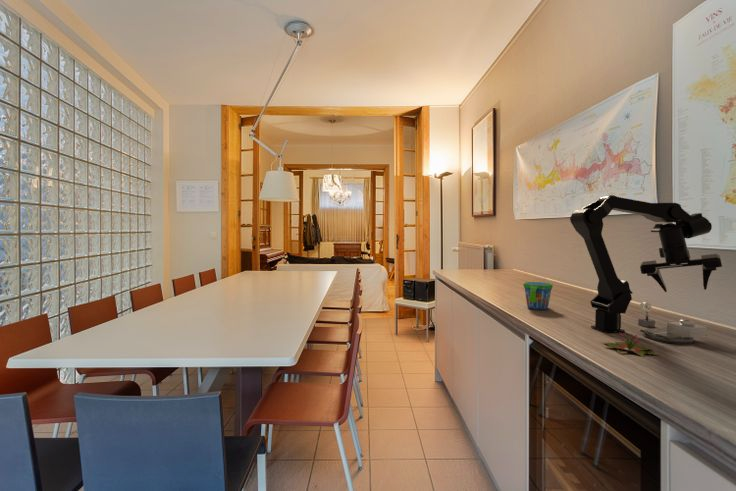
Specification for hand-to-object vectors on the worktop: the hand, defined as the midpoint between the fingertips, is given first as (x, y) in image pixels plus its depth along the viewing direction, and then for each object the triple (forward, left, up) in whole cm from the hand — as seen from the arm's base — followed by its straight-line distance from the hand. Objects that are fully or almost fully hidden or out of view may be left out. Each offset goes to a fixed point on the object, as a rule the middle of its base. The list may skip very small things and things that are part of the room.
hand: (685, 290), depth 108 cm
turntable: (-15, -6, -12) cm, 20 cm away
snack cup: (-23, +37, -13) cm, 46 cm away
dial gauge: (-7, +6, -12) cm, 15 cm away
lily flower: (-35, -11, -13) cm, 39 cm away
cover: (-11, -8, -11) cm, 17 cm away
